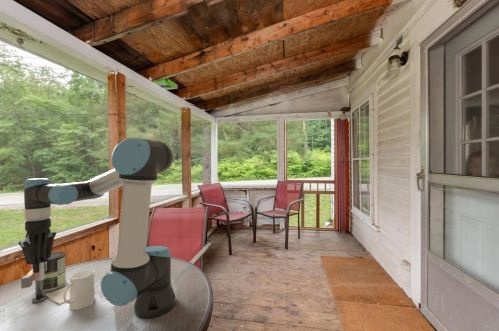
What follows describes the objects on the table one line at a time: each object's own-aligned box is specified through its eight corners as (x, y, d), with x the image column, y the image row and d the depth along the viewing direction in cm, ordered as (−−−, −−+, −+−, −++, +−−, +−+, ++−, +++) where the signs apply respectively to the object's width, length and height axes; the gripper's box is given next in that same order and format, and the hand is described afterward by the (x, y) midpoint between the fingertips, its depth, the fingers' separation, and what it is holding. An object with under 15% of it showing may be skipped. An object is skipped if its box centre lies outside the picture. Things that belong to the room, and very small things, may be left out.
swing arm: (33, 271, 100) (33, 262, 100) (48, 268, 102) (48, 260, 102) (16, 289, 85) (16, 279, 85) (34, 286, 87) (34, 276, 87)
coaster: (94, 290, 106) (93, 288, 106) (59, 305, 95) (59, 303, 95) (79, 283, 113) (79, 281, 113) (45, 296, 102) (45, 294, 102)
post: (48, 299, 100) (47, 271, 100) (34, 304, 96) (34, 275, 96) (43, 296, 102) (43, 269, 102) (30, 301, 98) (30, 273, 98)
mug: (70, 317, 87) (70, 284, 87) (54, 312, 90) (54, 281, 90) (100, 299, 99) (99, 271, 99) (85, 296, 101) (85, 268, 101)
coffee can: (43, 293, 104) (43, 261, 104) (33, 288, 109) (32, 257, 109) (70, 283, 113) (70, 253, 113) (59, 278, 118) (59, 250, 118)
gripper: (45, 214, 98) (46, 271, 98) (11, 222, 85) (12, 288, 86) (62, 215, 97) (63, 272, 98) (29, 223, 85) (31, 288, 85)
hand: (39, 279), depth 92 cm, fingers closed
